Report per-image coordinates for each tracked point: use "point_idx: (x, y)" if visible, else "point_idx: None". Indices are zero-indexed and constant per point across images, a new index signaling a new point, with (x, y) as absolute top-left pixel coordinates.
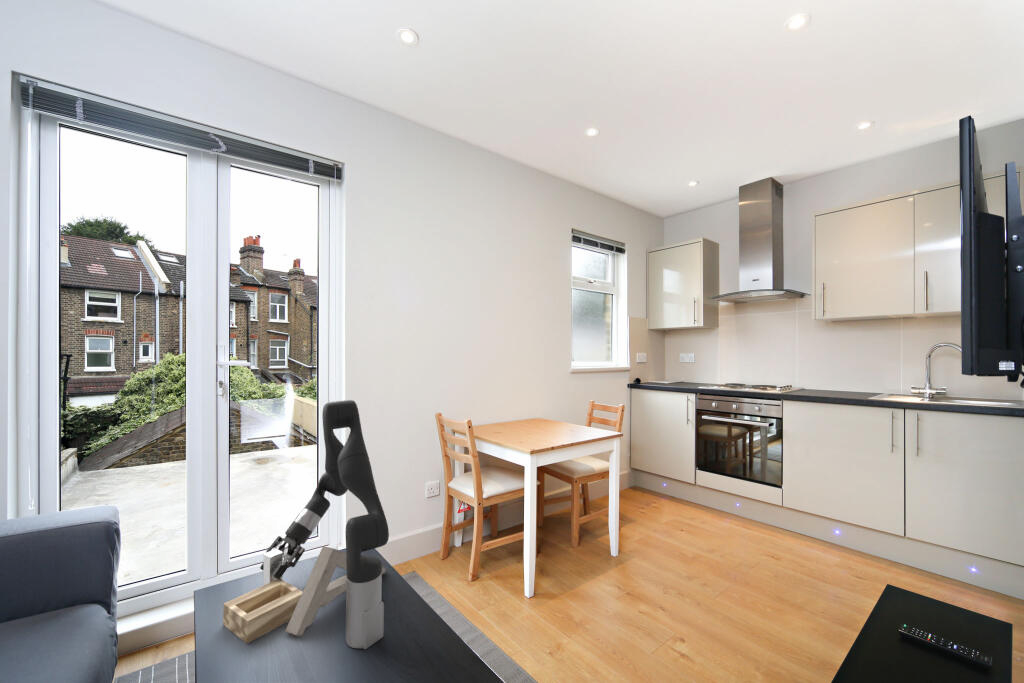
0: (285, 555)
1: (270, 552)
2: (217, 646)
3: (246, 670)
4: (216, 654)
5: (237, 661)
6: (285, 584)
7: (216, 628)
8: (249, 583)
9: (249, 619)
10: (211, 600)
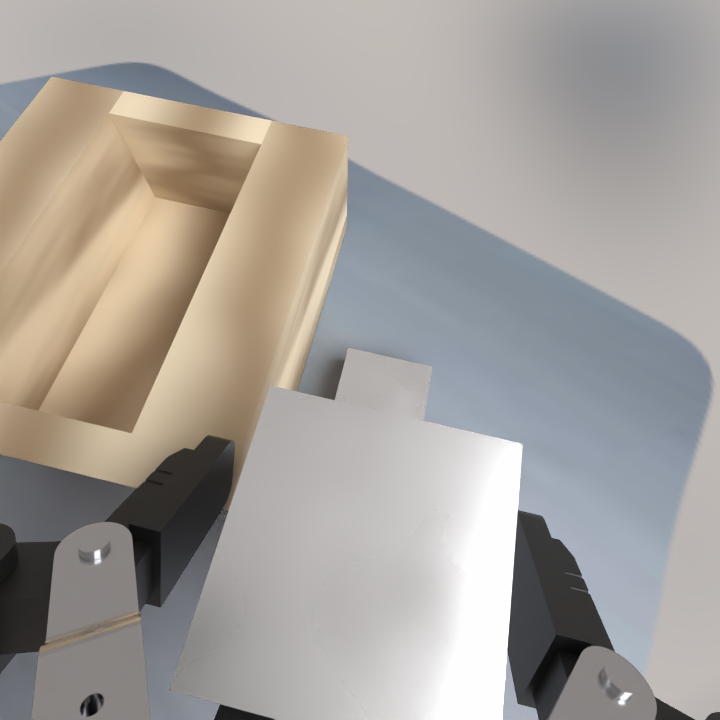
0: (69, 643)
1: (451, 549)
2: None
3: (4, 96)
4: None
5: None
6: (75, 443)
7: (350, 204)
8: (641, 577)
9: (51, 87)
10: (627, 340)
